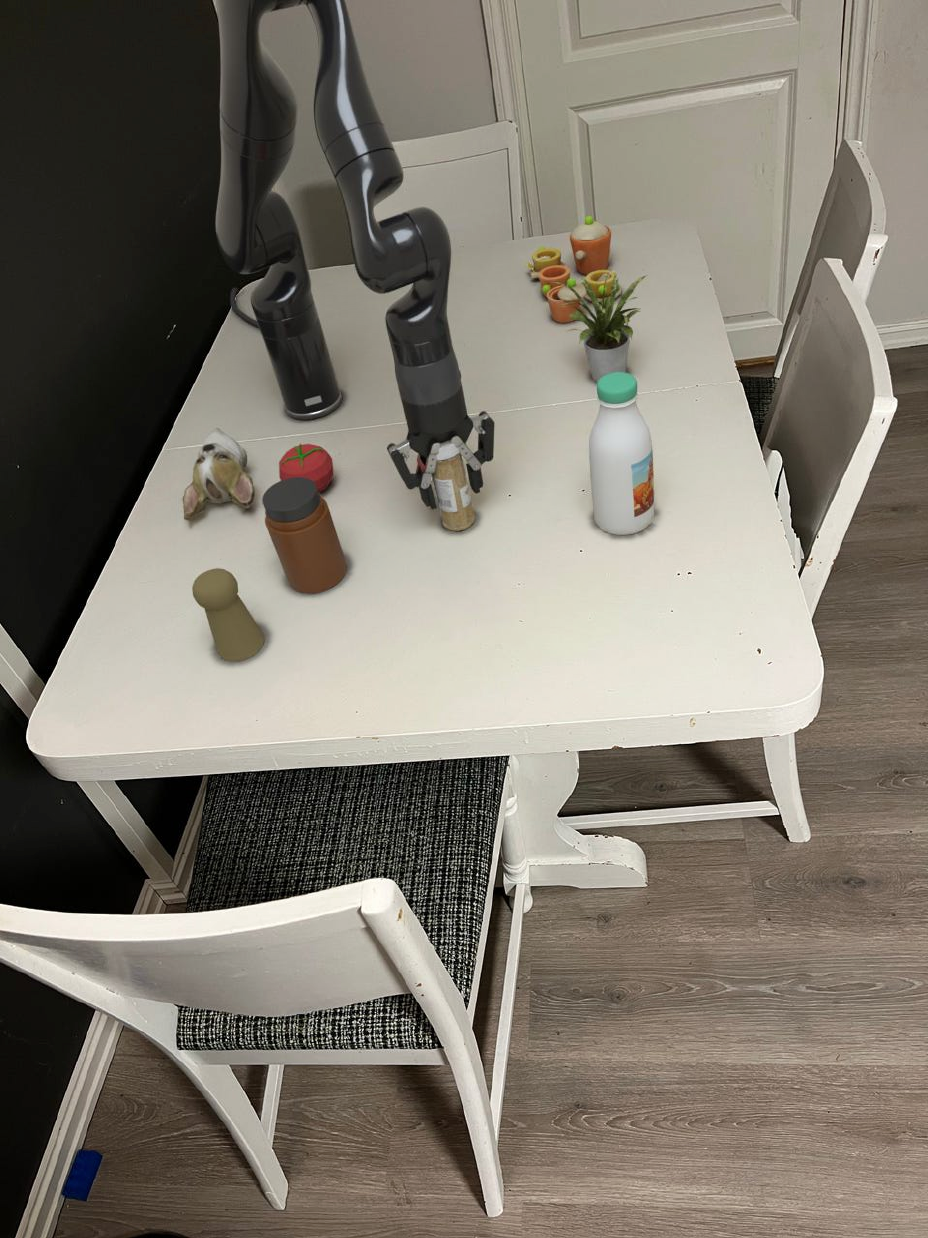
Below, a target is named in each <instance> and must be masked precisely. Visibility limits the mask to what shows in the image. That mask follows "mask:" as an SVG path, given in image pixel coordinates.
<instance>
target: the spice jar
mask: <svg viewBox="0 0 928 1238" xmlns="http://www.w3.org/2000/svg"><path fill="white" fill-rule="evenodd" d="M440 444H441V448H440V449H439V454H437V455H436V458H437V463H436V468H435V472H434V473H433V474H432V477H431V479H432V482H433V487H434V491H435V492H434V493H435V496H436V500H437V504H438V507H439V511H440V514H441V518H442V519H441V523H442V526H443V527H444V528H445V529H446V530H450V531H453V532H455V531H456V532H459V531H464V530H467V529H468V528H469V527H471V526H472V525H473V524H474V522H475V520H476V516H475V515H476V514H475V513H474V510H473V509H474V508H473V505H472V498H471V492H470V488H469V484H468V483H469V482H468V479H467V478H468V477H467V474H466V473H467V472H466V469H465V466H464V460H463V457H462V455H461V454H460V453H459V448H458V447H457V448H456V446H455V444H452V443H451V442H450V440H449V441H445V442H442V443H440Z"/></svg>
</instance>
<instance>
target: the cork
mask: <svg viewBox="0 0 928 1238" xmlns="http://www.w3.org/2000/svg"><path fill="white" fill-rule="evenodd" d="M191 589H192V590H191V591H192V596H193V598H194V600H195V602H196V604H198V606H199V607H201V608H202V609H204V612H205V616H206V619H207V623H208V625H209V629H210V633H211V636H212V640H213V642H214V646H215V651H216V653H217V655H218V657H219V658H220V659H221V660H223V661H226V662H230V663H234V662H235V663H237V662H242V661H246V660H247V659H250V658H251V657H253V656H255V655H256V654H257V653H258V652H259V651H260V650H261V649H262V647H263V646H264V643H265V639H266V638H265V634H264V632H263V630H262V629H261V628H260V626H259V624H258V623H257V621H256V620H255V618H254V617H253V616H252V614H251V613H250V611H249V609H248V608H247V606H246V604H245V603H244V602H243V600H242V599H241V597H240V596H239V594H238V593H239V583H238V581H237V579H236V578H235V576H234V575H233V573H232V572H230V571H228V570H226V569H225V568H221V567H219V568H211V569H208V570H206V571H204V572H202V573H200V574H199V575H198V576H197V577H196V578H195V579H194V581H193V584H192V588H191Z"/></svg>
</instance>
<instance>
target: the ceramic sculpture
mask: <svg viewBox="0 0 928 1238" xmlns="http://www.w3.org/2000/svg"><path fill="white" fill-rule="evenodd" d="M247 453H248V452H247V450H246V449H245V448H243V447H242V446H241V444H239V442H237V441H236V439H234V438H233V437H231V436H230V435H229V434H227V433H226V432H224V431H222V430H221V429H220V428H219V427H216V426H215V427H214V428H213V429H212V431H211V433H210V434H209V435H208V436H207V437H206V438H205V439H204V440H203V443H202V445H201V447H200V448H199V451H198V455H197V458H196V460H195V462H194V465H193V469H192V470H193V471H192V482H191V483H190V484H189V485H188V486H187V487H186V488H185V489H184V491H183V493H184V494H183V496H182V504H183V506H182V507H183V520H187V521H188V520H189V519H192V518H194V517H197V516H198V515H200V514H201V513H202V512H203V511H204V510H205V509H206V506H207V502H206V501H208V502H210V503H212V504H221V503H226V502H230V501H232V502H233V503H234V505H238V506H239V507H242V508H245V509H249V508H250V506H251V505H252V503H253V501H254V499H255V498H254V497H255V485H254V482H253V478H252V477H251V476H250V475H249V474H248V473H246V472H244V470H246V468H247V464H248V454H247Z"/></svg>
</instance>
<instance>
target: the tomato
mask: <svg viewBox="0 0 928 1238" xmlns="http://www.w3.org/2000/svg"><path fill="white" fill-rule="evenodd" d="M278 474H279V479H280V481H282V480H285V479H288V478H293V477H304V478H308V479H310V480H312V481H313V482H314V483H315V484H316V487H317V490H318V492H319V493H320V494H321V493H322V491H324V490H325V489H327V487H328V485H329V484H330V482H331V480H332V479H333V477H334V475H335V474H334V463H333V458H332V457H331V455H330V454H329V453H328V451H327V450H326V449H325V448H323V447H322V446H320V445H317V444H311V443H304V444H302V443H299V444H298V445H294V446H293V447H291V448H290V449H289V450H287V451H286V452H285V453H284V454H283V456H282V457H281V458H280V460H279V461H278Z"/></svg>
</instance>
